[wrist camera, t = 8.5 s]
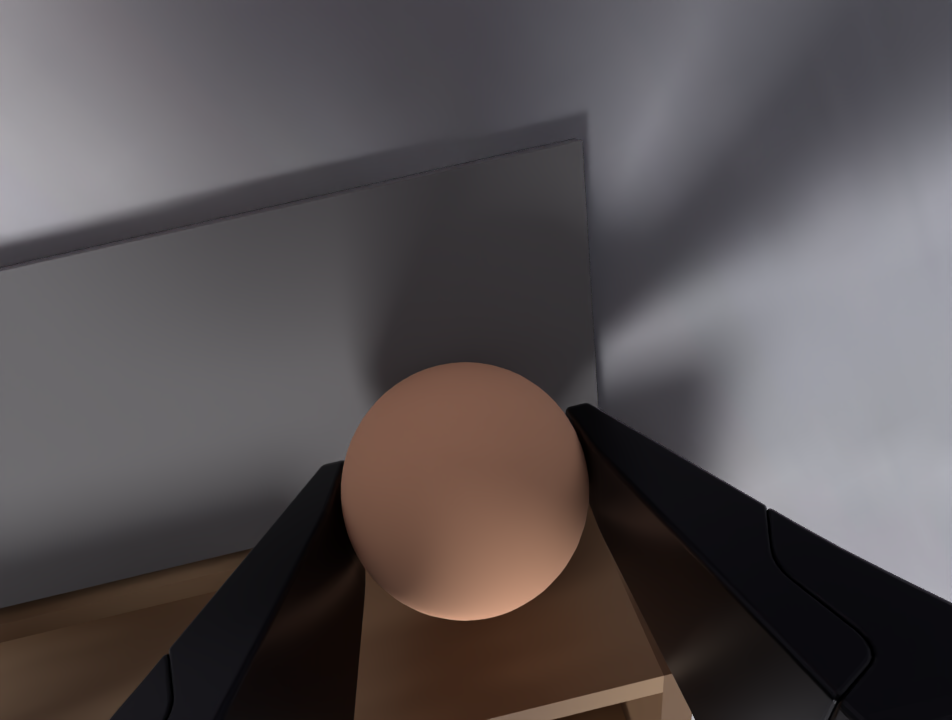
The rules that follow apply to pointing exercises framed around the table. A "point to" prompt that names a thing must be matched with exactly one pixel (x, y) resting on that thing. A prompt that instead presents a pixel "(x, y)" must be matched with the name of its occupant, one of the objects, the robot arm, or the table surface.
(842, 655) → the robot arm
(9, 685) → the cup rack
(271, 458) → the mat
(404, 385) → the ball terracotta
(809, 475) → the table surface
